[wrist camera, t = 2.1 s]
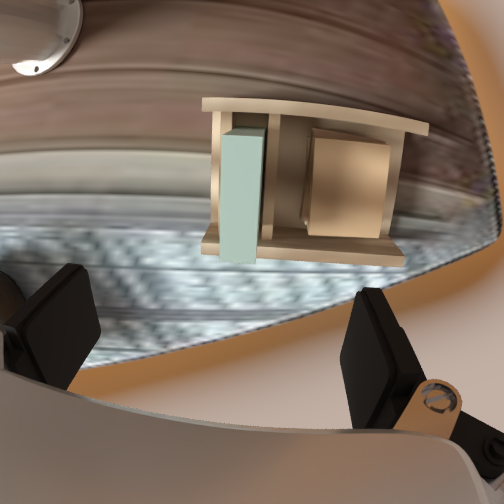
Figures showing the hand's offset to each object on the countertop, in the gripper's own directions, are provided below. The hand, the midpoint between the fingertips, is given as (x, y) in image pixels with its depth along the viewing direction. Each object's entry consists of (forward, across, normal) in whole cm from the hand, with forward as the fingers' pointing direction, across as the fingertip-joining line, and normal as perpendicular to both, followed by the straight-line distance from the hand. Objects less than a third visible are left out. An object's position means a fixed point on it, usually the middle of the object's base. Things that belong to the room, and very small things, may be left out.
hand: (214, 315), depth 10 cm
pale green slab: (+24, 0, 0) cm, 24 cm away
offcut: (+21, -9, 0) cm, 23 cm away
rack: (+26, -6, 0) cm, 26 cm away
